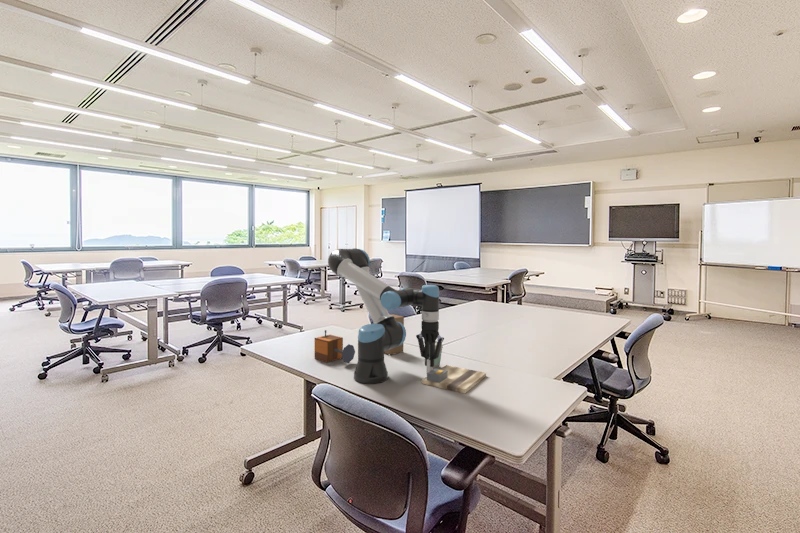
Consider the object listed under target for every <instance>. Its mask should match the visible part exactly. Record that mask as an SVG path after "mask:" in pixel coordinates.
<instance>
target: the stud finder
mask: <svg viewBox="0 0 800 533" xmlns="http://www.w3.org/2000/svg"><path fill="white" fill-rule="evenodd" d="M447 375H448V371H446V370H441V368H438V369H436V368H435V369H432V371H430V372H428V373H427V372H426V377H427V380H429V381H433V382H438V383H440V382H441V381H443V380H444V379H446V378H447Z"/></svg>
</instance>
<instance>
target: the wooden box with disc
mask: <svg viewBox="0 0 800 533" xmlns="http://www.w3.org/2000/svg"><path fill="white" fill-rule="evenodd" d="M355 353H356V350H355V347H354V345H352V344H349V343H348V344H347V345H345V347H344V338H343V337H341V336H339V335H333V334H327V329H324V335H321V336H318V337H314V359H316V360H319V361H322V362H326V363H329V362H333V360H334V361H338V360H340V358H341V359H342V361H343V362H344V363H348V364H349V363H351V361H353V360H354V357H355Z"/></svg>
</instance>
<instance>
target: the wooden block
mask: <svg viewBox="0 0 800 533" xmlns="http://www.w3.org/2000/svg"><path fill="white" fill-rule="evenodd" d="M389 314H390V315H392V316H394V318H395V320H396V322H400V323H402V324H403V325H404V326H405V317H404V316H403V315H399V314H393V313H389ZM384 352H385V353H384V354H386V353H387V354H386V355H388V354H390V355H389V356H392V355H391V354H393V355H396V354H395V353H397V354H400V353H399V352H401V353H404V343H403V344H401V345H400V346H398V347H396V348H392V349H389V350H387V351H384Z"/></svg>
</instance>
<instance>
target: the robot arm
mask: <svg viewBox="0 0 800 533" xmlns="http://www.w3.org/2000/svg"><path fill="white" fill-rule="evenodd" d="M370 261H371V259H370V255H369V254H368V253H367V252H366V251H365V250H364V249H361V248H338V249H335V250H333V251H332V252H331V253H330V254H329V256H328V258H327V264H328V267H329V269H330V271H331V272H333V273H334V274H335V275H336V276H338V277H339V278H345V279H346V280H348V281H349V282H351V283H353V284H354V285H355V287H356V289H357V292H358V293H359V296H360V298H361V300H362V301H363V304H364V306H365V307H366V310H367V312H368V314H369V317H370V318H371V320H372V322H373V323H371V324H370V323H367V324H364V325H363V326H361V327H360V328H359V329H358V332H357V333H358V335H357V355H358V356H357V363H356V367H355V369H354V372H353V380H355V382H358V383H360V384H372V385H373V384H379V383H382V382H385V381H386V382H387V380H388V377H389V373H388V372H389V371H388V369H387V365H386V363H385V353H384V351H387V350H389V349H392V348H396V347H398V346H400V345H401V344H403V345H404V342H405V341H406V337H407V329H406V327H405V324H404V325H403V324H402V323H400V322H396V320H395V318H394V316H392V315H390V314H391V313H389V310H396V309H399V308H404V307H410V306H418V307H421V326H420V327H421V331H420V333H419V334H416V335H415V336H416V340H417V342H418V346H419V347H418V348H419V352H420V356H421V358H424V365H425V366H426V374H427V373H428V372H430V371H432V370H433V369H432V368H433V366H434V359H436V358H438V357H439V353H440V349H441V344H442V345H443V342H444V340H445V338H444V337H443V336H441V335H440V332H439V325H440V322H439V320H440V317H439V316H440V311H439V310H440V305H439V304H440V291H439V290H440V288H439V286H438V285H436V284H424V285H422V286H421V288H413V287H412V288H411V287H402V288H399V289H395V288H393V287H392V286H390V285H388V284H387V283H386V282H384V281H383V280H381V279H379V278H377V277H376V276H374V275H372V274H371V273H369V272H370ZM435 341H438V342H437V345H436V349H435ZM429 357H430V358H429Z"/></svg>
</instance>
